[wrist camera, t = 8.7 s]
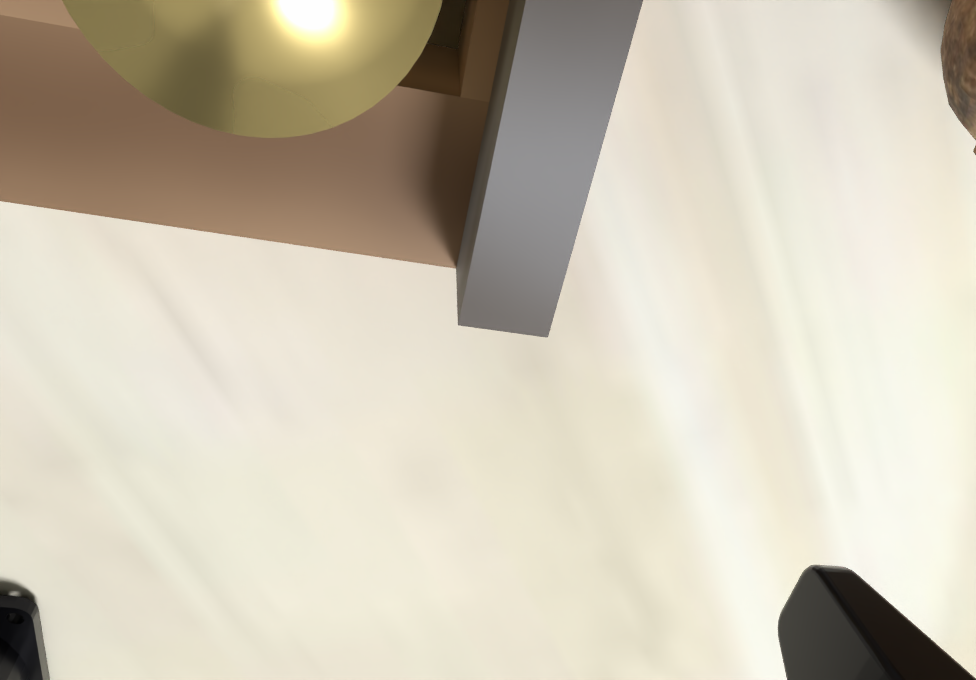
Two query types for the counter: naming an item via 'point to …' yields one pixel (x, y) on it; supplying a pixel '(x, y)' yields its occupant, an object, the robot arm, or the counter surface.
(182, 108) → the brass cylinder rod
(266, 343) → the counter surface
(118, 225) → the counter surface
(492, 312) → the jig
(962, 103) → the pipe
